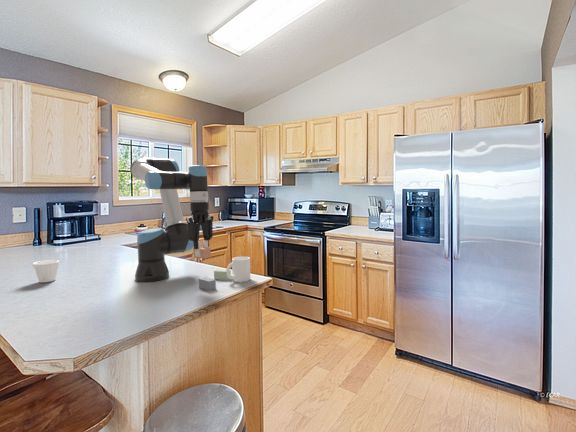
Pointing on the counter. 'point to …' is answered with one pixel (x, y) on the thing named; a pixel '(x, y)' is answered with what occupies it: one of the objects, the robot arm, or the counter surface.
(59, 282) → the counter surface
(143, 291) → the counter surface
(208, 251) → the terracotta brick
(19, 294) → the counter surface
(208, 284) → the slate brick
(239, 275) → the mug
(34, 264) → the cup
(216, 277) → the sage brick
